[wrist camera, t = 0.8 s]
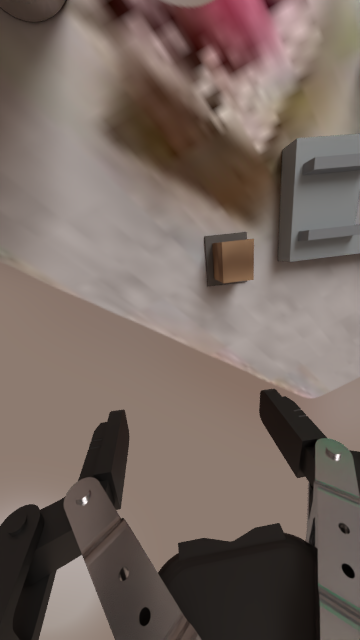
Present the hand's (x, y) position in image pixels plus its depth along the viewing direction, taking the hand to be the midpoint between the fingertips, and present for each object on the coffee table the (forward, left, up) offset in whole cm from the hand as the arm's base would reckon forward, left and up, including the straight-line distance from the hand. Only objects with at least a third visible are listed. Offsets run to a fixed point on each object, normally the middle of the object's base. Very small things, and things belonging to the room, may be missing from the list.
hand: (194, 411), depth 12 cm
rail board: (-13, +26, -22) cm, 36 cm away
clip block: (-7, +9, -19) cm, 22 cm away
